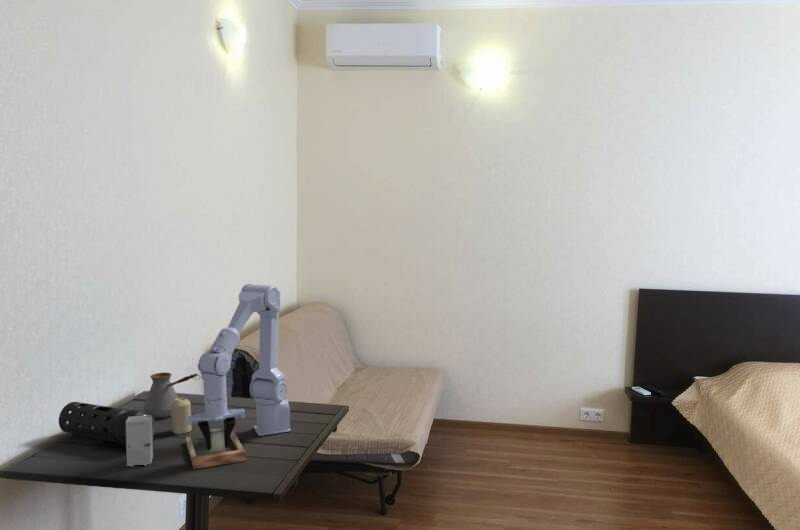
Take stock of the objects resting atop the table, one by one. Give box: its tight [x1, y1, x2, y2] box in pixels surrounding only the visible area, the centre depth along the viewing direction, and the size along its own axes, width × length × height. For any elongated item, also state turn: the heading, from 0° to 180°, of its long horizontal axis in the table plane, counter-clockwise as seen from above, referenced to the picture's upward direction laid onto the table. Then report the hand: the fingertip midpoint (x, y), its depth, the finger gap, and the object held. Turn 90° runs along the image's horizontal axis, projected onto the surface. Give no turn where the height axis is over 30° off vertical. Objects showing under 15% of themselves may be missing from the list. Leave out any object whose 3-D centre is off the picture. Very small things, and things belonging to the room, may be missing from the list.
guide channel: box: [185, 430, 248, 470], centre depth 180 cm, size 13×20×2 cm
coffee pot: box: [143, 372, 201, 419], centre depth 209 cm, size 21×12×15 cm, turn 64°
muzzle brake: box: [58, 401, 157, 447], centre depth 188 cm, size 10×28×10 cm, turn 67°
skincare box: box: [125, 415, 154, 467], centre depth 172 cm, size 6×4×12 cm
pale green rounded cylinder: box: [209, 428, 227, 454], centre depth 175 cm, size 4×4×6 cm
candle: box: [170, 397, 193, 435], centre depth 195 cm, size 6×6×10 cm
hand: (217, 447), depth 175 cm, fingers closed on pale green rounded cylinder, 4 cm apart
